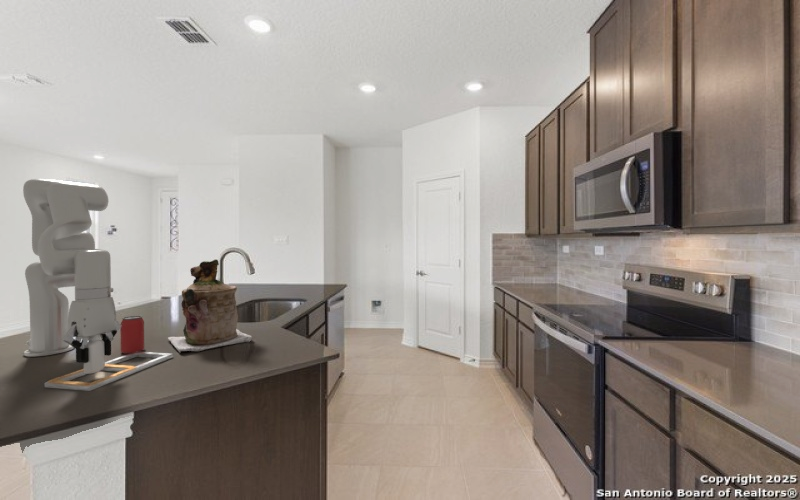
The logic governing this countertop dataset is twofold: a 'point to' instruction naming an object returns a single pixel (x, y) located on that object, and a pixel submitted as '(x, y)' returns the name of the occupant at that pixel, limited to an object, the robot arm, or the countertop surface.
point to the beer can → (132, 334)
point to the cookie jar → (208, 312)
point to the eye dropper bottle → (95, 355)
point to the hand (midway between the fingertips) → (94, 357)
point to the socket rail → (109, 366)
